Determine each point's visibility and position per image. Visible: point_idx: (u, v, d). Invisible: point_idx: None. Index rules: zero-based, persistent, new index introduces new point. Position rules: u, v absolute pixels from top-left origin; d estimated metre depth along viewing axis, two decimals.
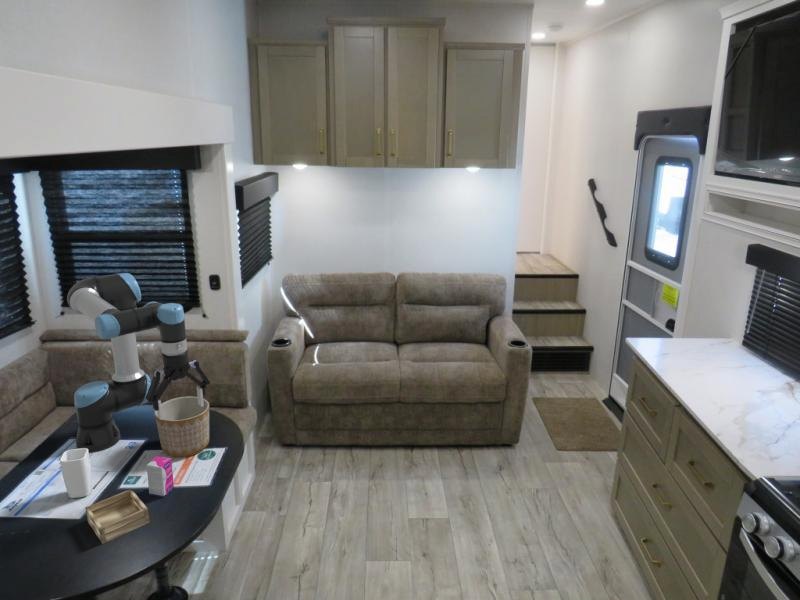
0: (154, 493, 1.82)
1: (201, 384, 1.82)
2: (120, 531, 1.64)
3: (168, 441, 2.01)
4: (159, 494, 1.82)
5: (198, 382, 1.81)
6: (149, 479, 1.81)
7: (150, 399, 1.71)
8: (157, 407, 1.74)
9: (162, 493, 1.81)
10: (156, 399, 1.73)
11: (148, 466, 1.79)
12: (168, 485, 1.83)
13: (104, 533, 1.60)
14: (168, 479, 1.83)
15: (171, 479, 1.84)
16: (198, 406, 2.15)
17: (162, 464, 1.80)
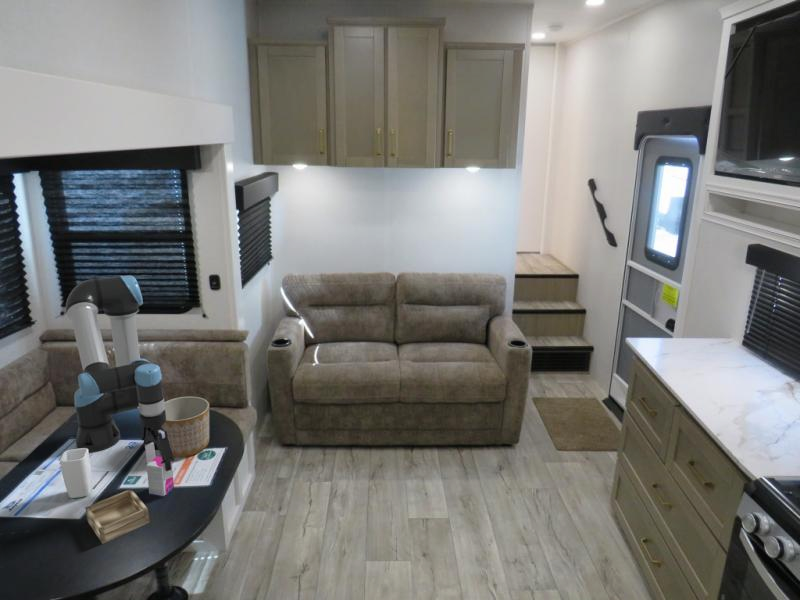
0: (154, 493, 1.82)
1: (162, 458, 1.74)
2: (120, 531, 1.64)
3: None
4: (159, 494, 1.82)
5: (160, 454, 1.74)
6: (149, 479, 1.81)
7: (141, 438, 1.85)
8: None
9: (162, 493, 1.81)
10: (144, 442, 1.84)
11: (148, 466, 1.79)
12: (168, 485, 1.83)
13: (104, 533, 1.60)
14: (168, 479, 1.83)
15: (171, 479, 1.84)
16: (198, 406, 2.15)
17: None
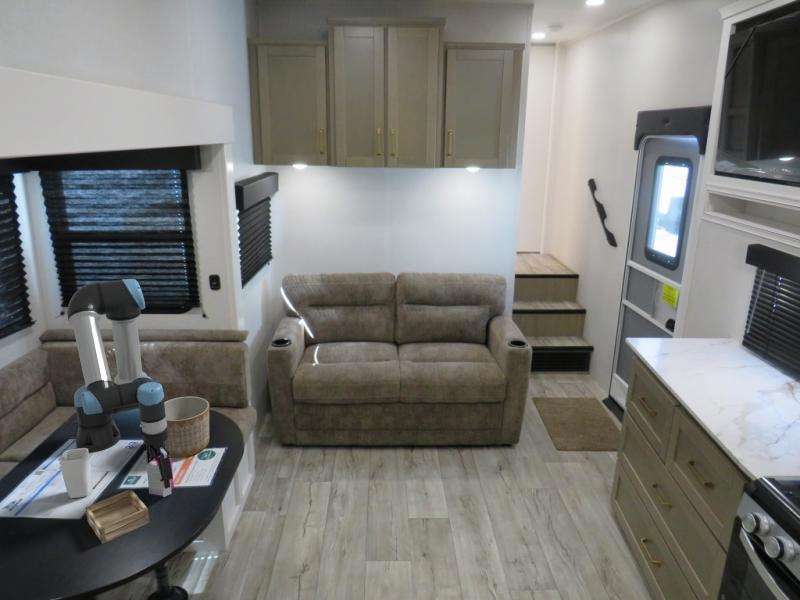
0: (154, 493, 1.82)
1: (161, 476, 1.78)
2: (120, 531, 1.64)
3: (168, 441, 2.01)
4: (159, 494, 1.82)
5: (160, 471, 1.78)
6: (149, 479, 1.81)
7: (147, 461, 1.86)
8: None
9: None
10: None
11: (148, 466, 1.79)
12: None
13: (104, 533, 1.60)
14: None
15: (171, 479, 1.84)
16: (198, 406, 2.15)
17: None
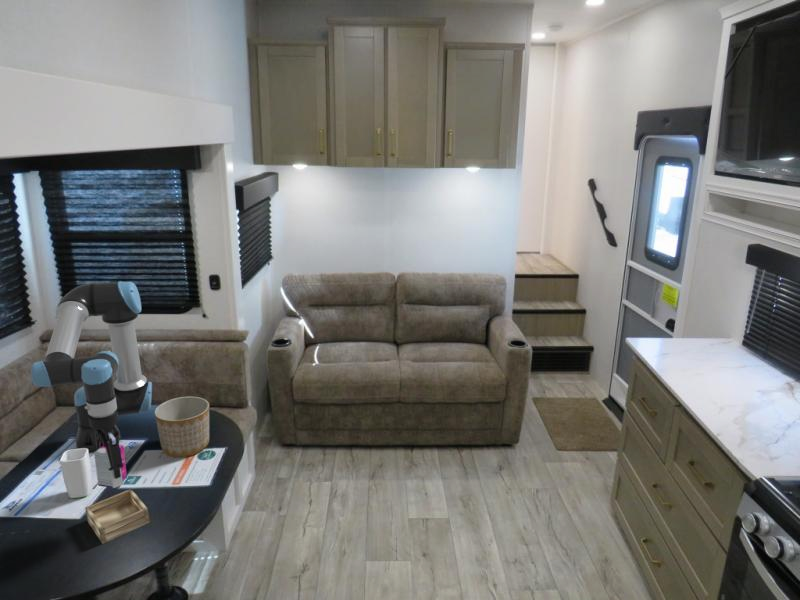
0: (103, 484, 1.63)
1: (110, 464, 1.59)
2: (120, 531, 1.64)
3: (168, 441, 2.01)
4: (109, 485, 1.63)
5: (109, 459, 1.59)
6: (97, 468, 1.62)
7: (96, 448, 1.67)
8: None
9: None
10: None
11: (96, 453, 1.60)
12: None
13: (104, 533, 1.60)
14: None
15: (123, 468, 1.65)
16: (198, 406, 2.15)
17: None
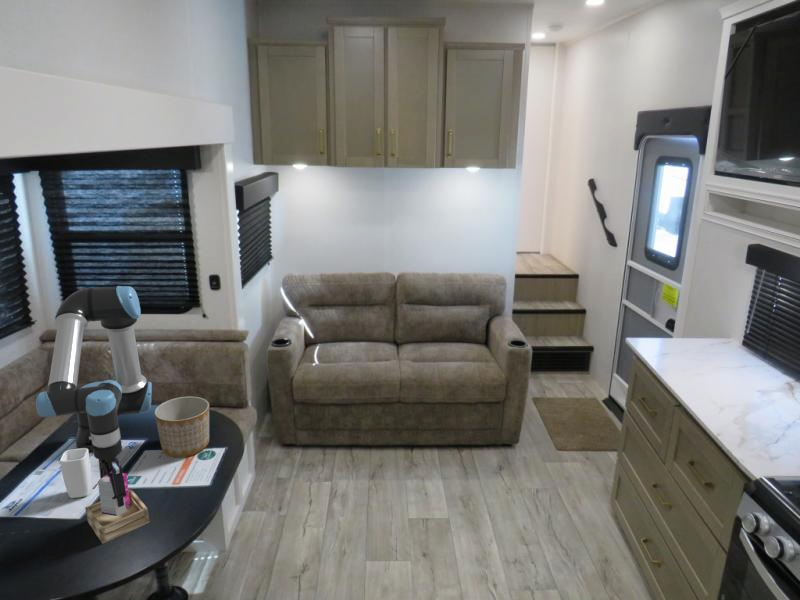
0: (107, 512, 1.65)
1: (114, 493, 1.62)
2: (120, 531, 1.64)
3: (168, 441, 2.01)
4: (112, 513, 1.65)
5: (113, 488, 1.62)
6: (101, 496, 1.64)
7: (100, 476, 1.70)
8: None
9: None
10: None
11: (100, 482, 1.63)
12: None
13: (104, 533, 1.60)
14: None
15: (126, 496, 1.68)
16: (198, 406, 2.15)
17: None
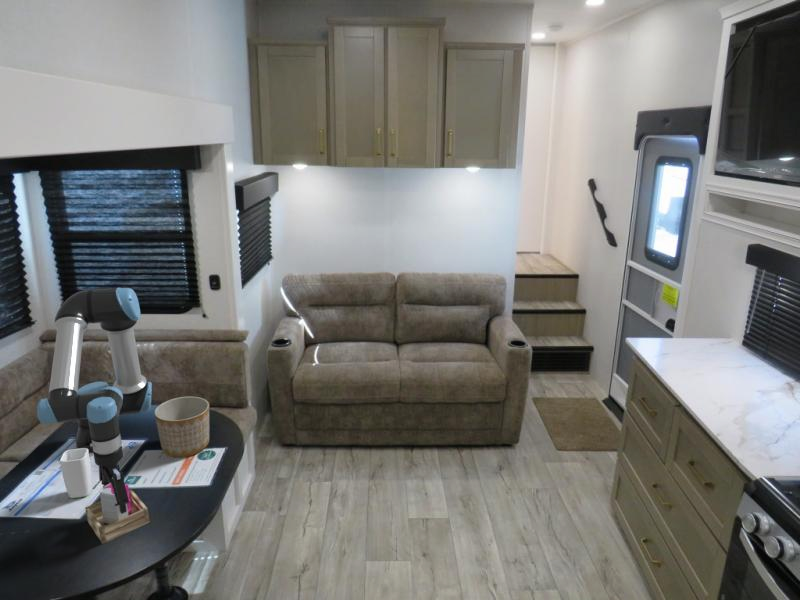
0: (109, 523, 1.67)
1: (116, 499, 1.61)
2: (120, 531, 1.64)
3: (168, 441, 2.01)
4: None
5: (115, 495, 1.62)
6: (103, 507, 1.66)
7: (99, 478, 1.71)
8: None
9: None
10: (102, 482, 1.70)
11: (102, 493, 1.64)
12: None
13: (104, 533, 1.60)
14: None
15: (128, 507, 1.69)
16: (198, 406, 2.15)
17: None
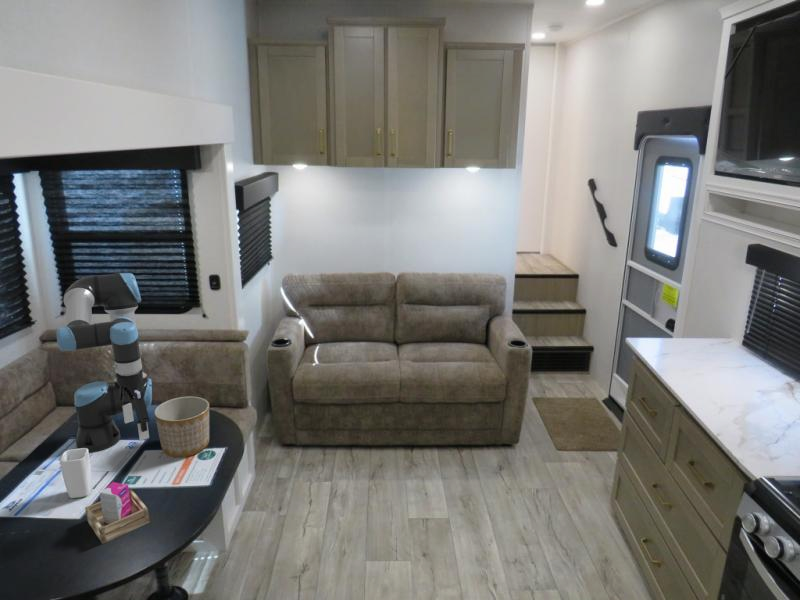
0: (109, 523, 1.67)
1: (138, 418, 1.71)
2: (120, 531, 1.64)
3: (168, 441, 2.01)
4: None
5: (136, 414, 1.71)
6: (103, 508, 1.66)
7: (119, 398, 1.82)
8: None
9: None
10: (121, 402, 1.81)
11: (101, 494, 1.64)
12: (124, 514, 1.68)
13: (104, 533, 1.60)
14: (124, 508, 1.68)
15: (128, 507, 1.69)
16: (198, 406, 2.15)
17: (117, 491, 1.65)
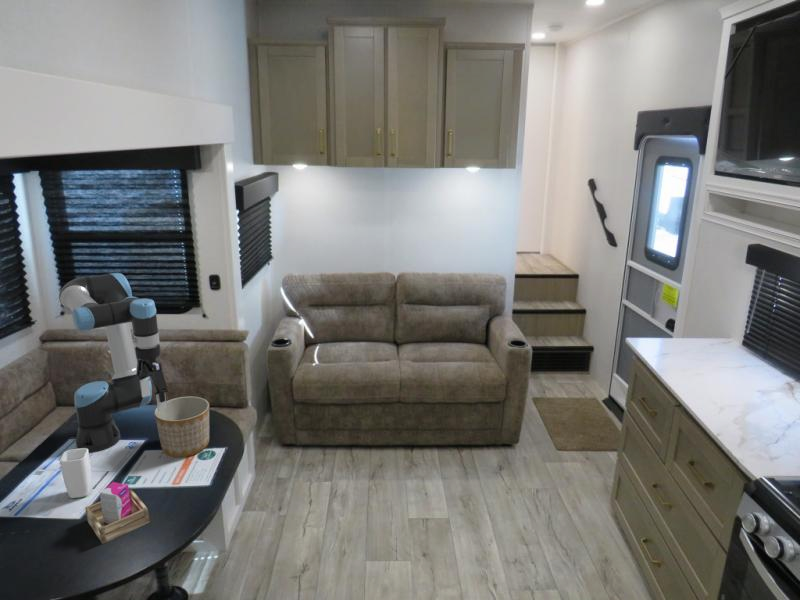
0: (109, 523, 1.67)
1: (156, 389, 1.80)
2: (120, 531, 1.64)
3: (168, 441, 2.01)
4: None
5: (155, 385, 1.81)
6: (103, 508, 1.66)
7: (137, 373, 1.92)
8: None
9: None
10: (139, 376, 1.91)
11: (102, 494, 1.64)
12: (124, 514, 1.68)
13: (104, 533, 1.60)
14: (124, 508, 1.68)
15: (128, 507, 1.69)
16: (198, 406, 2.15)
17: (117, 491, 1.65)
